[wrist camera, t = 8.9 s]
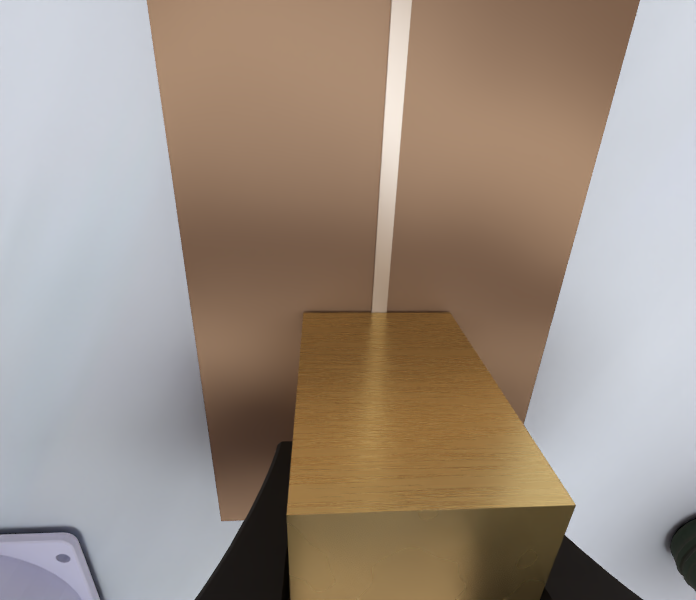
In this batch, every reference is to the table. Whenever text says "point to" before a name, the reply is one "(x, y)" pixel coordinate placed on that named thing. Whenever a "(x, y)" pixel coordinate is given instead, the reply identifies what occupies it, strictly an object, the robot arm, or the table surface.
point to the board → (374, 181)
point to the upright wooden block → (413, 469)
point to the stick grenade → (686, 552)
